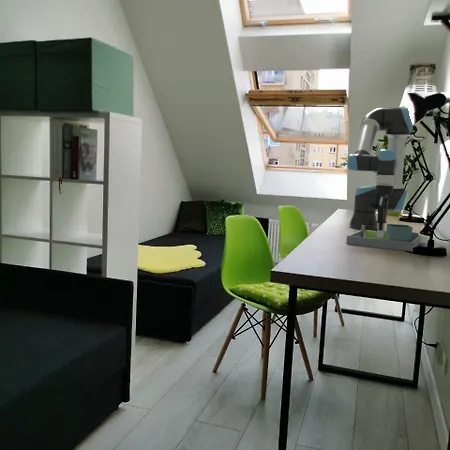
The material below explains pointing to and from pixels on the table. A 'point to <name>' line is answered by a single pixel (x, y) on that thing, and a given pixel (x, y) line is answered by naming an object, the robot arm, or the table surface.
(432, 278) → the table surface
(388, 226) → the flower pot
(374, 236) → the gate
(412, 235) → the grey desk tray
